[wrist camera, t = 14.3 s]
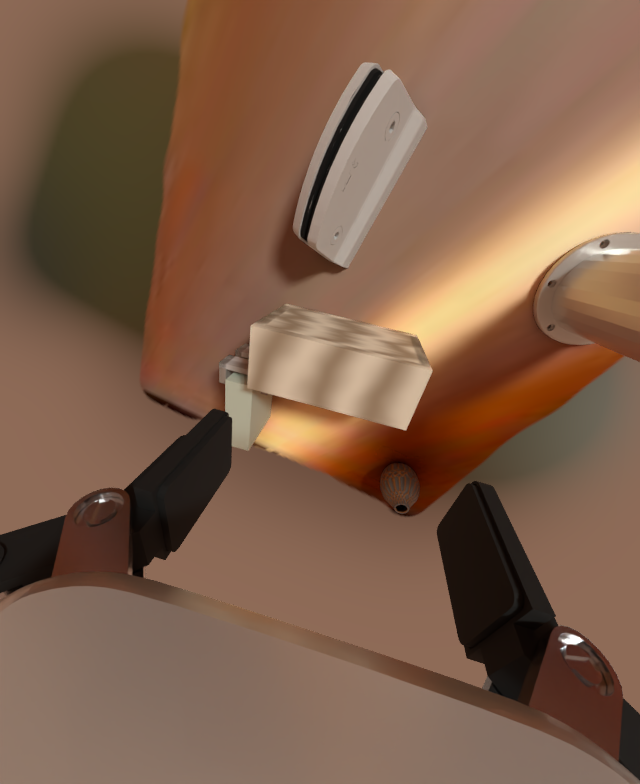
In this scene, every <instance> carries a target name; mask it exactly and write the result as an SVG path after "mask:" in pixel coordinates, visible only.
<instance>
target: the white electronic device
mask: <svg viewBox="0 0 640 784" xmlns="http://www.w3.org/2000/svg"><path fill="white" fill-rule="evenodd" d="M426 129H427V124H426V120H425V118H424V117H423V115H422V114H421V113H420V112H419V111H418V110H417V108H416V107H415V106H414V104H413V102H412V100H411V98H410V96H409V95H408V93H407V91H406V89H405V87H404V85H403V84H402V82H401V80H400V78H398V77H397V76H396V75H395V74H394V73H393V72H392V71H391V70H386V71H385V72H383V71H382V69H381V67H380V66H379V64H377V63H363V64H362V65H361V66H360V67H359V69H358V70H357V72H356V73H355V75H354V76H353V78H352V79H351V81H350V82H349V84H348V86H347V87H346V89H345V91H344V92H343V94H342V96H341V98H340V99H339V101H338V103H337V105H336V107H335V109H334V111H333V113H332V115H331V117H330V119H329V121H328V122H327V125H326V127H325V129H324V131H323V134H322V136H321V138H320V140H319V143H318V145H317V147H316V150H315V152H314V155H313V157H312V160H311V163H310V165H309V168H308V171H307V174H306V177H305V180H304V183H303V186H302V190H301V193H300V197H299V200H298V204H297V208H296V213H295V217H294V223H293V231H294V233H295V234H296V235H297V236H298V238H299V239H300V240H301V241H303V242H304V243H305V244H307V245H308V246H309V247H311V248H312V249H314V250H315V251H316V252H318V253H319V254H320V255H322V256H323V257H324V258H326V259H327V260H329V261H331V262H333V263H335V264H337V265H340V266H342V267H345V268H348V267H349V265H350V263H351V261H352V260H353V258H354V256H355V254H356V253H357V251H358V249H359V247H360V245H361V244H362V242H363V240H364V238H365V237H366V235H367V233H368V231H369V230H370V228H371V226H372V224H373V222H374V221H375V219H376V217H377V215H378V214H379V212H380V210H381V208H382V207H383V205H384V203H385V201H386V200H387V198H388V196H389V194H390V192H391V191H392V189H393V187H394V185H395V184H396V182H397V180H398V178H399V177H400V175H401V173H402V171H403V170H404V168H405V166H406V164H407V162H408V161H409V159H410V157H411V155H412V154H413V152H414V150H415V148H416V147H417V145H418V143H419V141H420V139H421V138H422V136H423V134H424V132H425V131H426Z"/></svg>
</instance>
